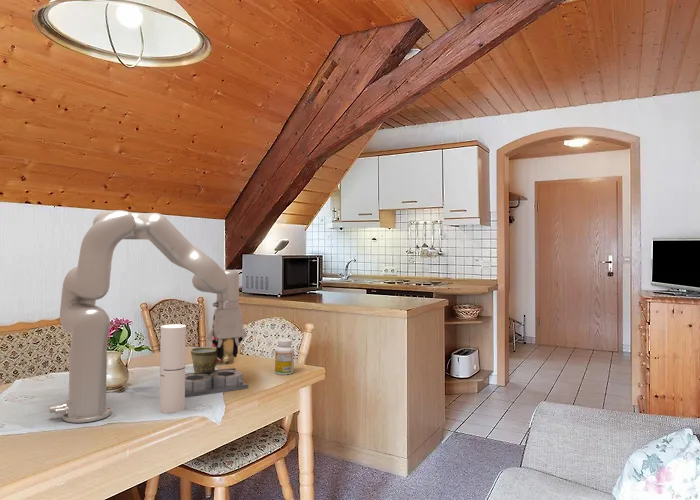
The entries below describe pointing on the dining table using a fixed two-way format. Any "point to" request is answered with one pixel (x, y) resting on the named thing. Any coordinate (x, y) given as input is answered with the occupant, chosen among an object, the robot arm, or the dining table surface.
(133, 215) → the robot arm
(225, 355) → the cylinder
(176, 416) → the dining table surface
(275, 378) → the dining table surface
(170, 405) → the cylindrical container
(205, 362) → the ceramic cup
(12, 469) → the dining table surface
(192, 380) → the jig
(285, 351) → the supplement bottle
